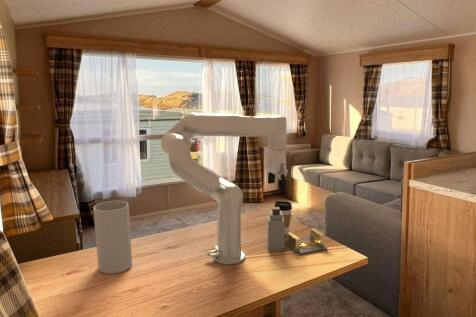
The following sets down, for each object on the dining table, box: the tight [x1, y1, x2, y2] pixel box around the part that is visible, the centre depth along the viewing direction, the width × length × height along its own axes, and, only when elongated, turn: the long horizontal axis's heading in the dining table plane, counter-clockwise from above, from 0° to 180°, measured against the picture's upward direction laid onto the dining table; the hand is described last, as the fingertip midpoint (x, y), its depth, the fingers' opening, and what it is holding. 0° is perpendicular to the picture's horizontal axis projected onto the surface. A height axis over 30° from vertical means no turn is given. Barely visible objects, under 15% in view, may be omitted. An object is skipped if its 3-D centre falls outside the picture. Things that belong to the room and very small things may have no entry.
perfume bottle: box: [266, 206, 285, 252], centre depth 154 cm, size 7×7×18 cm
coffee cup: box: [273, 200, 293, 236], centre depth 171 cm, size 8×8×15 cm
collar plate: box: [284, 227, 328, 256], centre depth 156 cm, size 14×13×6 cm
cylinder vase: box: [92, 200, 133, 275], centre depth 137 cm, size 12×12×25 cm
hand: (276, 185), depth 151 cm, fingers open, 9 cm apart
